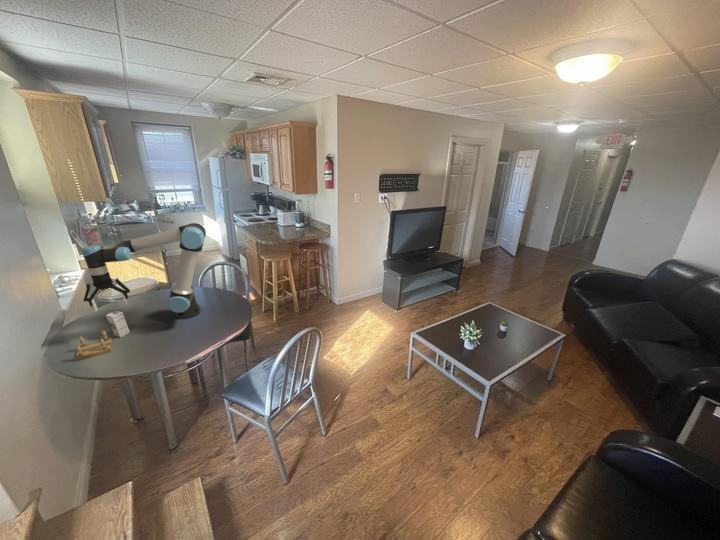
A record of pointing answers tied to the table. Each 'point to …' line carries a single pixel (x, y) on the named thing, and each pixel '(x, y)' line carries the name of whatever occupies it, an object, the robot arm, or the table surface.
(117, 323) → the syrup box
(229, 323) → the table surface
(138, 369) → the table surface
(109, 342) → the peg rack
